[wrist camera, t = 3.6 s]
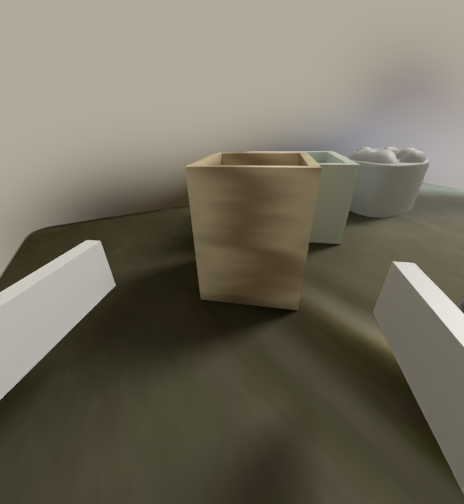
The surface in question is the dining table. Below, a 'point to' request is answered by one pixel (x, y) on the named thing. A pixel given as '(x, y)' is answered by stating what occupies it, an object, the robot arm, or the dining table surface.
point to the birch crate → (252, 225)
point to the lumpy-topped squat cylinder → (387, 180)
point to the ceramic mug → (461, 304)
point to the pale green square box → (332, 195)
